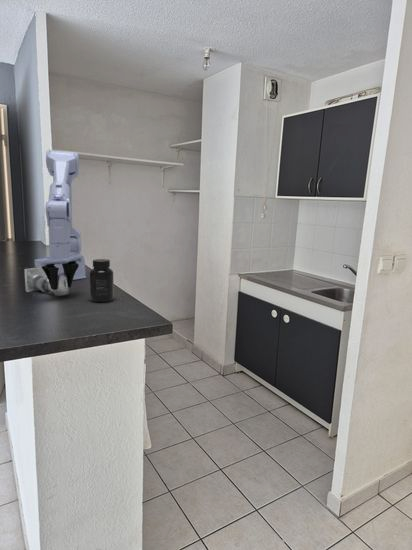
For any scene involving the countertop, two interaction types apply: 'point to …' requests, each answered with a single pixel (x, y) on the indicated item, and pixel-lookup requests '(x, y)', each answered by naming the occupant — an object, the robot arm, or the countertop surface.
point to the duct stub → (35, 280)
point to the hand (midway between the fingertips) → (61, 287)
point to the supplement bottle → (101, 281)
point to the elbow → (59, 285)
